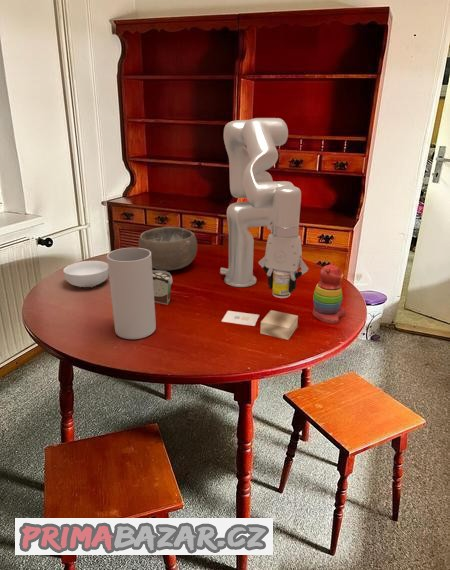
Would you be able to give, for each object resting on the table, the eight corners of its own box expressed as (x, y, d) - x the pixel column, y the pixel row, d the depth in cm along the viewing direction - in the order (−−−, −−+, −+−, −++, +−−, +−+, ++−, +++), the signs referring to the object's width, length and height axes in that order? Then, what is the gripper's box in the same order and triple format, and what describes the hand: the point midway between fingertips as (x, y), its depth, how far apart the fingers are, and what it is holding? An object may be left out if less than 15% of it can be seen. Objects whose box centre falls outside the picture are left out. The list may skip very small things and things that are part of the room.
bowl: (156, 255, 200) (154, 223, 194) (205, 261, 193) (205, 228, 187) (130, 273, 179) (127, 238, 173) (184, 280, 172) (183, 244, 166)
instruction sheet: (221, 321, 140) (221, 321, 140) (227, 311, 147) (227, 310, 147) (254, 326, 137) (254, 325, 137) (259, 315, 144) (259, 314, 144)
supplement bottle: (278, 289, 134) (280, 258, 130) (294, 294, 130) (296, 262, 126) (268, 295, 130) (269, 263, 126) (283, 300, 126) (286, 267, 122)
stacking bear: (336, 325, 138) (342, 273, 131) (306, 317, 143) (311, 267, 136) (346, 312, 146) (353, 263, 139) (318, 305, 151) (323, 257, 144)
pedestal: (260, 333, 133) (260, 321, 131) (270, 321, 140) (271, 310, 139) (288, 339, 129) (289, 328, 128) (297, 327, 137) (298, 315, 135)
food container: (180, 298, 156) (179, 273, 152) (171, 305, 151) (169, 279, 147) (151, 292, 161) (149, 267, 157) (141, 299, 155) (139, 273, 152)
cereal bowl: (116, 277, 175) (115, 260, 172) (101, 293, 160) (99, 276, 157) (76, 275, 176) (74, 259, 174) (58, 291, 161) (55, 274, 158)
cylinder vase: (134, 317, 142) (127, 245, 132) (164, 327, 136) (159, 252, 127) (106, 333, 132) (97, 256, 122) (137, 344, 126) (131, 264, 117)
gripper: (252, 230, 123) (250, 288, 130) (311, 238, 116) (306, 299, 123) (261, 224, 129) (259, 280, 136) (318, 231, 122) (313, 289, 129)
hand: (281, 288), depth 129 cm, fingers closed on supplement bottle, 5 cm apart
